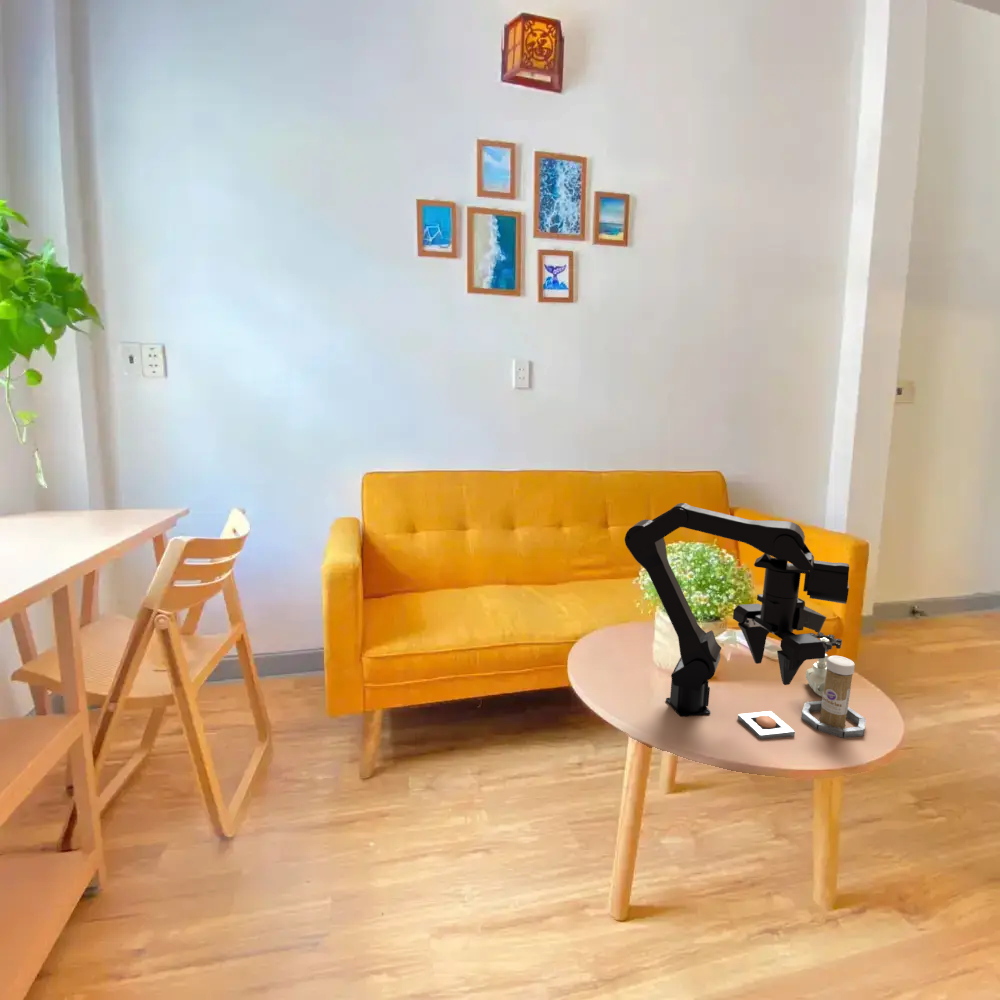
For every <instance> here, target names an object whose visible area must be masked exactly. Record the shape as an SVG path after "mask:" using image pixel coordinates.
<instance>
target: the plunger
mask: <svg viewBox="0 0 1000 1000" xmlns="http://www.w3.org/2000/svg"><path fill="white" fill-rule="evenodd" d="M755 723H756V724H757V725H758V726H759V727H760V728H762V729H763V730H765V729H774V728H775V727H776V721H775V720H774V719H773V718H771V717H768V716H758V717H757V718H756V722H755Z"/></svg>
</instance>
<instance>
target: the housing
mask: <svg viewBox="0 0 1000 1000" xmlns="http://www.w3.org/2000/svg"><path fill="white" fill-rule="evenodd" d="M758 716H768V717H771V718H773V719H774V720H775V721H776V727H775V728H773V729H765V730H763V729H762V728H760V727H759V726H758V724H757V723H756V718H757V717H758ZM737 721H739V722H740V723H741V724H742V725H744V726H745V728H746V729H748V730H749V731H750V732H751V733H752V734H754V736H756V737H757V738H758V739H760V740H769V739H770V740H771V739H781V738H782V739H783V738H792V737H793V738H794V737H795V735H796V731H795V730H794V729H793V728H792V727H791V726H789V725H788V724H787V723H786V722H785V721H783V720H782V719H781V718H780V717H779V716H777V715H776V714H775V713H774V712H773V711H772V710H768V711H767V710H766V711H757V712H747V713H739V714H737Z"/></svg>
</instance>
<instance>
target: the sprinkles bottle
mask: <svg viewBox="0 0 1000 1000" xmlns="http://www.w3.org/2000/svg"><path fill="white" fill-rule="evenodd" d="M855 665H856V664H855V662H854V661H853V660H852V659H850V658H847V657H845V656H840V655H831V656H828V658H827V662H826V667H827V672H826V679H825V685H824V691H823V697H821V701H822V704H821V706H822V708H821V711H820V715H819V719H818V721H820V722H821V723H824V724H828V725H831V726H835V727H838V728H842V729H843V728H846V726H847V724H846V721H847V720H846V719H847V718H846V715H847V711H848V707H849V701H850V696H851V690H852V689H851V687H852V686H851V685H852V681H853V675H854V673H855V668H856V667H855Z"/></svg>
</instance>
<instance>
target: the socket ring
mask: <svg viewBox="0 0 1000 1000" xmlns="http://www.w3.org/2000/svg"><path fill="white" fill-rule="evenodd" d="M821 704H822V700H814V701H805V702H804V705H803V708H802V712H801V717H800V718H801V720H803V722H805V723H807V724H808V725H809V726H811V727H812V728H813V729H814V730H816V731H818V732H821V733H825V734H828V735H831V736H835V737H838V738H843V739H850V738H851V739H852V738H861V737H860V736H862V737H864V734H865V728H866V727H865V726H866V717H864V716H863V715H862V714H860V713H858V712H857V711H855V710H854V709H853V708H851V707H849V706H848V711H847V715H846V719H848V720H849V721H851V722H852V723H854V724H856V725H857V726H854V727H852V726H851V727H845V728H838V727H835V726H831V725H828V724H824V723H821V722H820V720H819V719H817V718H816V717H815V716H813V715H812V714H811V713H813V712H821V708H822V706H821Z"/></svg>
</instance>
